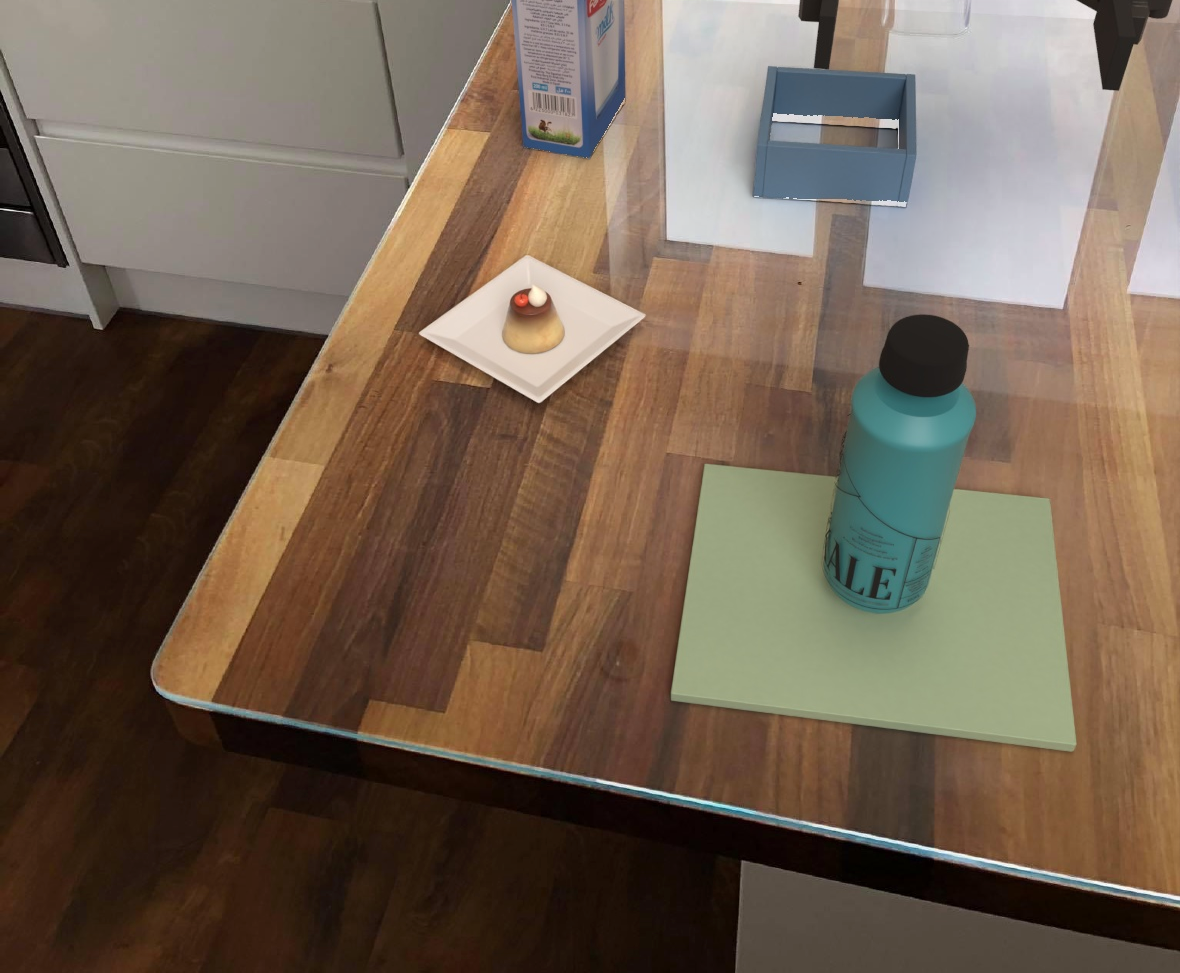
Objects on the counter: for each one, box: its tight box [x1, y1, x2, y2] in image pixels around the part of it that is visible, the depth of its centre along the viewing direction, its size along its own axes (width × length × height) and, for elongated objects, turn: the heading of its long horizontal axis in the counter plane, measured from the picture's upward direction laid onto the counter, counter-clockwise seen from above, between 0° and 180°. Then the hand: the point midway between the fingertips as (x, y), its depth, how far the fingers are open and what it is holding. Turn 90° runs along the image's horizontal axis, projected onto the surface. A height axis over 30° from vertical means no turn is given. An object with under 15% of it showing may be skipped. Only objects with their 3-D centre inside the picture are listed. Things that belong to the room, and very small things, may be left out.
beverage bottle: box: [821, 314, 977, 614], centre depth 66 cm, size 6×7×20 cm
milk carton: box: [511, 0, 626, 160], centre depth 103 cm, size 10×6×20 cm, turn 160°
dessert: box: [418, 254, 647, 404], centre depth 89 cm, size 12×12×5 cm
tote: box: [752, 65, 918, 203], centre depth 104 cm, size 13×13×5 cm
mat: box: [670, 463, 1078, 753], centre depth 74 cm, size 22×18×1 cm
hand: (968, 53), depth 58 cm, fingers open, 13 cm apart
